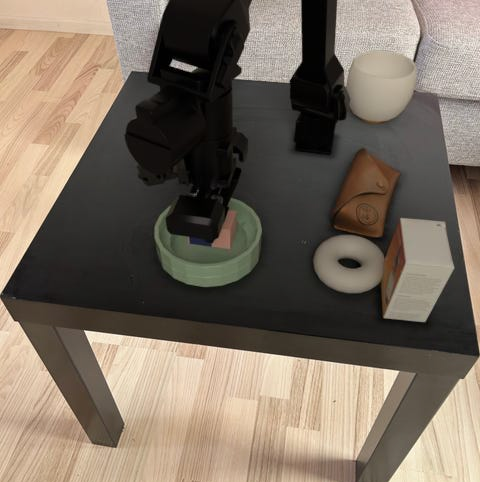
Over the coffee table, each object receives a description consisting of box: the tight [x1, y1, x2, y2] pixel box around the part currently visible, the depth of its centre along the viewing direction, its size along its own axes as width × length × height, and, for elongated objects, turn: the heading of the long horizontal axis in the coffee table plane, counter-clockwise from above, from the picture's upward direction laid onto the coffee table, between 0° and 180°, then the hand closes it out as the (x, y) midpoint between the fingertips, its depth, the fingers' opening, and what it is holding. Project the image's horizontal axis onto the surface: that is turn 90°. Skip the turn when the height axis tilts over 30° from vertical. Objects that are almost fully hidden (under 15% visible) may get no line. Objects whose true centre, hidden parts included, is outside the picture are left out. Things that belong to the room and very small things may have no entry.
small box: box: [380, 217, 455, 323], centre depth 60 cm, size 8×6×10 cm
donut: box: [312, 234, 386, 294], centre depth 66 cm, size 10×4×10 cm
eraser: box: [188, 210, 236, 249], centre depth 66 cm, size 6×4×4 cm
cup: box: [345, 49, 417, 124], centre depth 89 cm, size 12×12×10 cm
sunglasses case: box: [330, 147, 402, 239], centre depth 76 cm, size 18×7×7 cm
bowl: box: [154, 196, 263, 288], centre depth 68 cm, size 15×15×4 cm
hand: (213, 231), depth 66 cm, fingers closed on eraser, 4 cm apart
